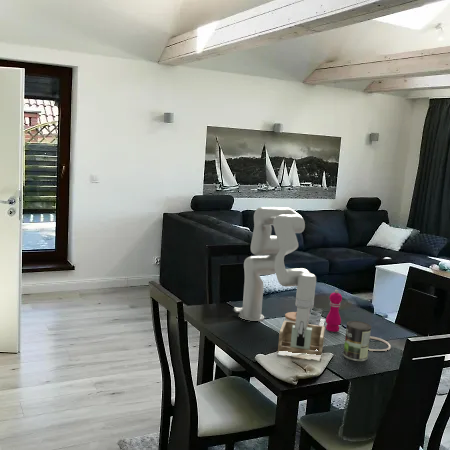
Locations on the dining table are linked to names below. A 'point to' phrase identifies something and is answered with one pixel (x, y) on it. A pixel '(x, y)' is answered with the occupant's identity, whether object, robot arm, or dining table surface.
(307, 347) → the rectangular block
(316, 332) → the cabinet frame
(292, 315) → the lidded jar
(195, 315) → the dining table surface
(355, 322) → the coffee can
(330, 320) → the pepper mill
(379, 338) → the hand towel holder
